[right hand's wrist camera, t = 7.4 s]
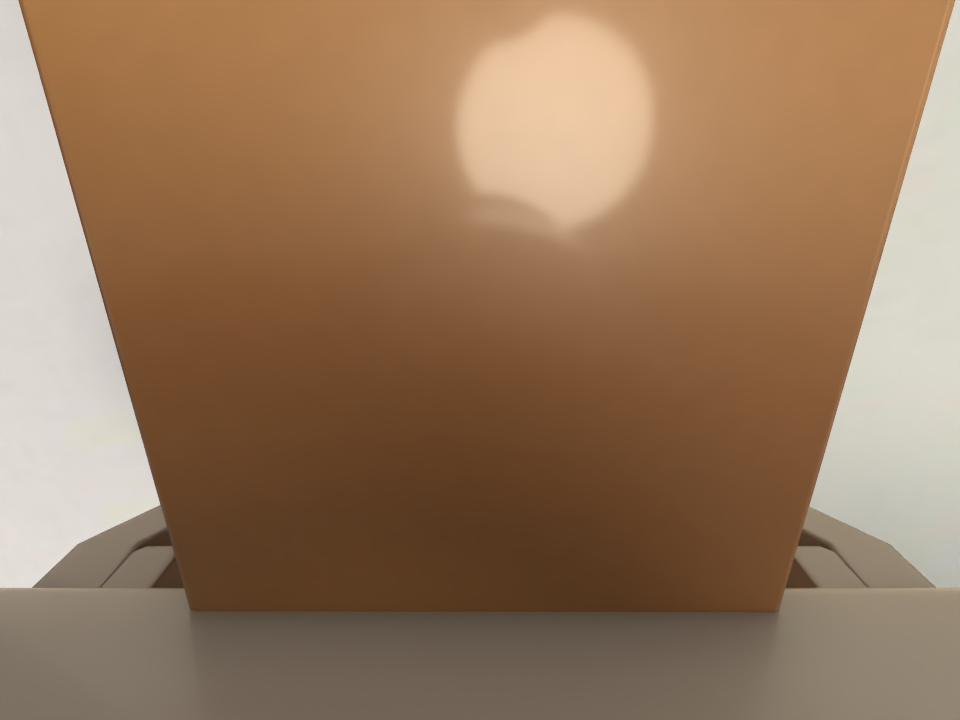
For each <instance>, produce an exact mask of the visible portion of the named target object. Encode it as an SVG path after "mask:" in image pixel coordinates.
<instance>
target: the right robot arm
mask: <svg viewBox="0 0 960 720" xmlns="http://www.w3.org/2000/svg"><path fill="white" fill-rule="evenodd" d="M0 720H960V588H936V587H935V586H934V585H933V584H932V583H931V582H930V581H928V580H927V579H926V578H925V577H924V576H923V575H922V574H921V573H920V572H919V571H918V570H917V569H916V568H915V567H914V566H912V565H911V564H910V563H909V562H908V561H907V560H906V559H905V558H904V557H903V556H902V555H901V554H900V553H899V552H898V551H896V550H895V549H894V548H893V547H892V546H891V545H890V544H888V543H885V542H883V541H881V540H879V539H877V538H875V537H873V536H870V535H868V534H866V533H864V532H862V531H860V530H858V529H856V528H853V527H851V526H849V525H847V524H845V523H843V522H841V521H839V520H836V519H834V518H832V517H830V516H828V515H826V514H824V513H822V512H819V511H817V510H815V509H813V508H811V507H809V508H808V511H807V515H806V518H805V522H804V525H803V529H802V532H801V536H800V539H799V543H798V546H797V550H796V553H795V556H794V560H793V563H792V567H791V570H790V574H789V577H788V581H787V584H786V588H785V591H784V594H783V598H782V601H781V605H780V608H779V610H778V611H775V612H332V611H193V610H191V609H190V608H189V604H188V600H187V597H186V593H185V590H184V586H183V583H182V579H181V576H180V572H179V569H178V565H177V561H176V558H175V554H174V551H173V547H172V544H171V540H170V537H169V533H168V529H167V526H166V522H165V519H164V515H163V512H162V508H161V505H160V506H158V507H155V508H153V509H151V510H149V511H147V512H145V513H143V514H141V515H139V516H136V517H134V518H132V519H130V520H128V521H126V522H124V523H122V524H119V525H117V526H115V527H113V528H111V529H109V530H107V531H105V532H103V533H100V534H98V535H96V536H94V537H92V538H90V539H88V540H86V541H84V542H81V543H79V544H78V545H77V546H75V547H74V548H73V549H72V550H71V551H70V552H69V553H68V554H67V555H66V556H65V557H64V558H63V559H62V560H61V561H60V562H59V563H58V564H57V565H55V566H54V567H53V568H52V569H51V570H50V571H49V572H48V573H47V574H46V575H45V576H44V577H43V578H42V579H41V580H40V581H39V582H38V583H37V584H35V585H34V586H33V587H32V588H0Z"/></svg>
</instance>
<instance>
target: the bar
mask: <svg viewBox="0 0 960 720" xmlns="http://www.w3.org/2000/svg"><path fill="white" fill-rule="evenodd" d="M954 3H955V0H19V4H20V7H21V11H22V14H23V18H24V21H25V25H26V29H27V32H28V36H29V39H30V43H31V46H32V50H33V53H34V57H35V60H36V64H37V68H38V71H39V75H40V78H41V82H42V85H43V89H44V92H45V96H46V100H47V103H48V107H49V110H50V114H51V117H52V121H53V124H54V128H55V132H56V135H57V139H58V142H59V146H60V149H61V153H62V156H63V160H64V164H65V167H66V171H67V174H68V178H69V181H70V185H71V188H72V192H73V195H74V199H75V203H76V206H77V210H78V213H79V217H80V220H81V224H82V227H83V231H84V235H85V238H86V242H87V245H88V249H89V252H90V256H91V259H92V263H93V267H94V270H95V274H96V277H97V281H98V284H99V288H100V291H101V295H102V299H103V302H104V306H105V309H106V313H107V316H108V320H109V323H110V327H111V330H112V334H113V338H114V341H115V345H116V348H117V352H118V355H119V359H120V362H121V366H122V370H123V373H124V377H125V380H126V384H127V387H128V391H129V394H130V398H131V402H132V405H133V409H134V412H135V416H136V419H137V423H138V426H139V430H140V434H141V437H142V441H143V444H144V448H145V451H146V455H147V458H148V462H149V465H150V469H151V473H152V476H153V480H154V483H155V487H156V490H157V494H158V497H159V501H160V505H161V508H162V512H163V515H164V519H165V522H166V526H167V529H168V533H169V537H170V540H171V544H172V547H173V551H174V554H175V558H176V561H177V565H178V569H179V572H180V576H181V579H182V583H183V586H184V590H185V593H186V597H187V600H188V604H189V608H190V609H191V610H193V611H332V612H775V611H778V610H779V608H780V605H781V601H782V598H783V594H784V591H785V588H786V584H787V581H788V577H789V574H790V570H791V567H792V563H793V560H794V556H795V553H796V550H797V546H798V543H799V539H800V536H801V532H802V529H803V525H804V522H805V518H806V515H807V511H808V508H809V505H810V501H811V498H812V494H813V491H814V487H815V484H816V480H817V477H818V473H819V470H820V466H821V463H822V460H823V456H824V453H825V449H826V446H827V442H828V439H829V435H830V432H831V428H832V425H833V421H834V418H835V415H836V411H837V408H838V404H839V401H840V397H841V394H842V390H843V387H844V383H845V380H846V377H847V373H848V370H849V366H850V363H851V359H852V356H853V352H854V349H855V345H856V342H857V338H858V335H859V332H860V328H861V325H862V321H863V318H864V314H865V311H866V307H867V304H868V300H869V297H870V293H871V290H872V287H873V283H874V280H875V276H876V273H877V269H878V266H879V262H880V259H881V255H882V252H883V248H884V245H885V242H886V238H887V235H888V231H889V228H890V224H891V221H892V217H893V214H894V210H895V207H896V204H897V200H898V197H899V193H900V190H901V186H902V183H903V179H904V176H905V172H906V169H907V165H908V162H909V159H910V155H911V152H912V148H913V145H914V141H915V138H916V134H917V131H918V127H919V124H920V120H921V117H922V114H923V110H924V107H925V103H926V100H927V96H928V93H929V89H930V86H931V82H932V79H933V75H934V72H935V69H936V65H937V62H938V58H939V55H940V51H941V48H942V44H943V41H944V37H945V34H946V30H947V27H948V24H949V20H950V17H951V13H952V10H953V6H954Z"/></svg>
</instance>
